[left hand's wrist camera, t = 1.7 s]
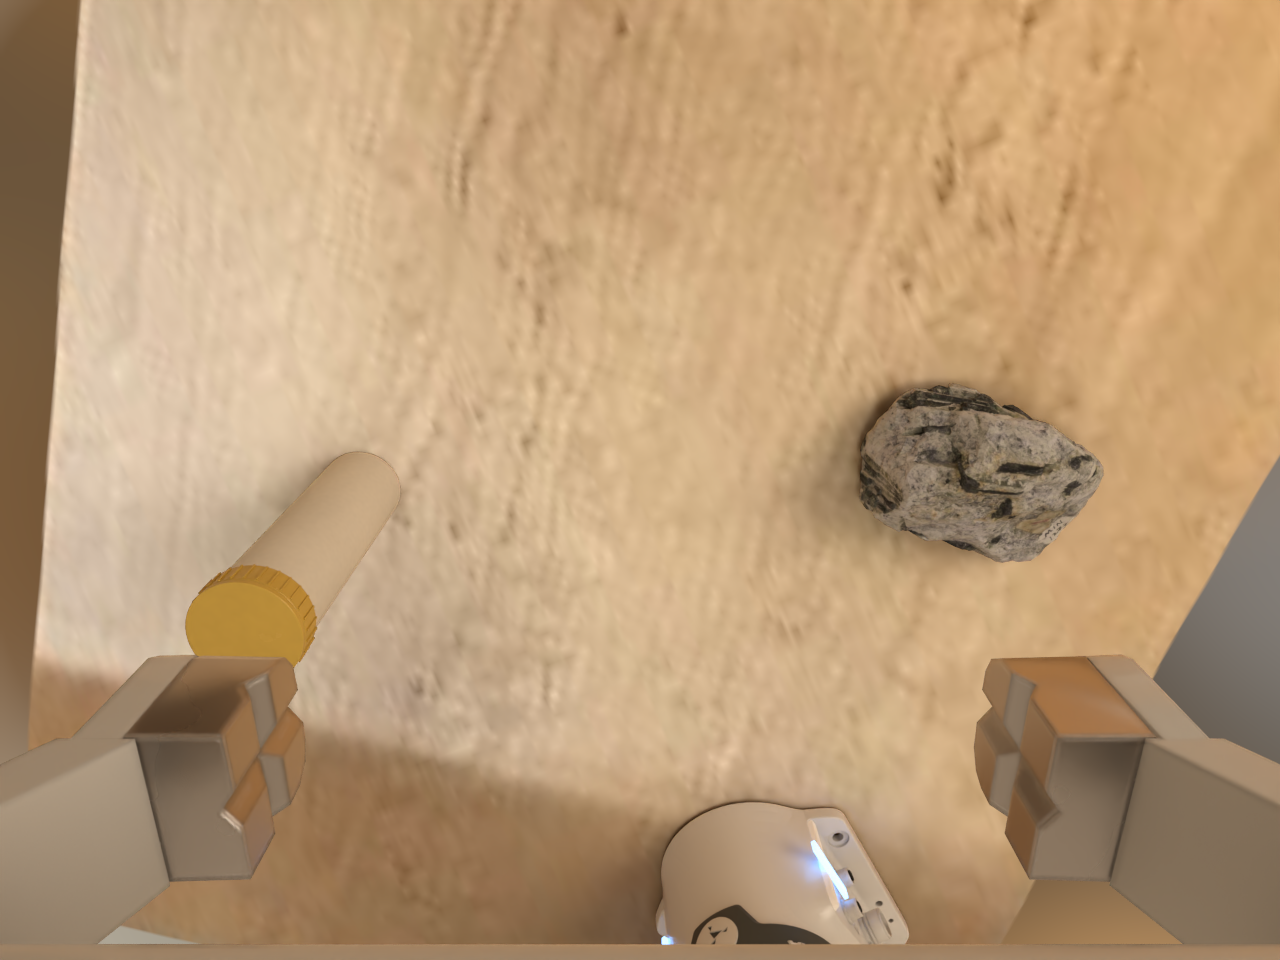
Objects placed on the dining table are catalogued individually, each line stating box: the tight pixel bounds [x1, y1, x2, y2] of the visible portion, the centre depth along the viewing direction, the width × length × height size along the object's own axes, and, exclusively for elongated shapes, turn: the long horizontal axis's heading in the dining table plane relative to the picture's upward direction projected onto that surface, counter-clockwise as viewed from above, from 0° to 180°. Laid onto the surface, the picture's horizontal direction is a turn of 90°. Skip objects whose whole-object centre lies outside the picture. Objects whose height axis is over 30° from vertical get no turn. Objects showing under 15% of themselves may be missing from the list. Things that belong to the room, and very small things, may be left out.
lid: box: [185, 564, 317, 668], centre depth 44 cm, size 6×6×2 cm
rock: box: [859, 384, 1103, 562], centre depth 57 cm, size 15×10×7 cm
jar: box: [231, 452, 401, 627], centre depth 52 cm, size 5×5×19 cm
